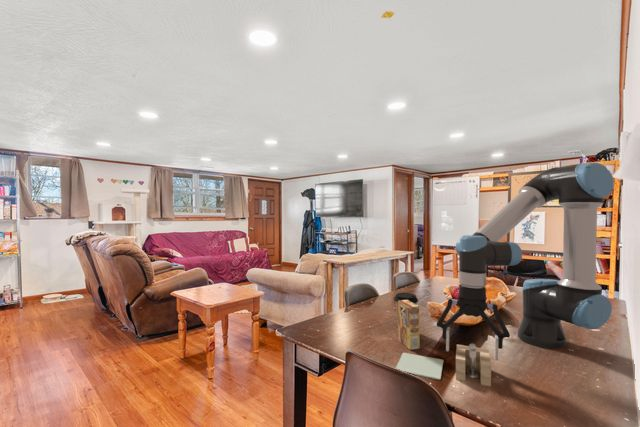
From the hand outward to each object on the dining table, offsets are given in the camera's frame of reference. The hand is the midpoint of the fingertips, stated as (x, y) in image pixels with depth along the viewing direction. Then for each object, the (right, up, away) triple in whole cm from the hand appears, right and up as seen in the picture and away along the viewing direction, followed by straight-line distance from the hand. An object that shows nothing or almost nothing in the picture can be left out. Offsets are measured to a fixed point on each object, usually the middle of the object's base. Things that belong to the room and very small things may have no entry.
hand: (471, 354), depth 97 cm
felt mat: (-15, -5, +2) cm, 16 cm away
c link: (-1, -5, -3) cm, 6 cm away
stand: (-2, -5, -4) cm, 7 cm away
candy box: (-14, -5, +18) cm, 24 cm away
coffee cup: (-12, -5, +30) cm, 33 cm away
